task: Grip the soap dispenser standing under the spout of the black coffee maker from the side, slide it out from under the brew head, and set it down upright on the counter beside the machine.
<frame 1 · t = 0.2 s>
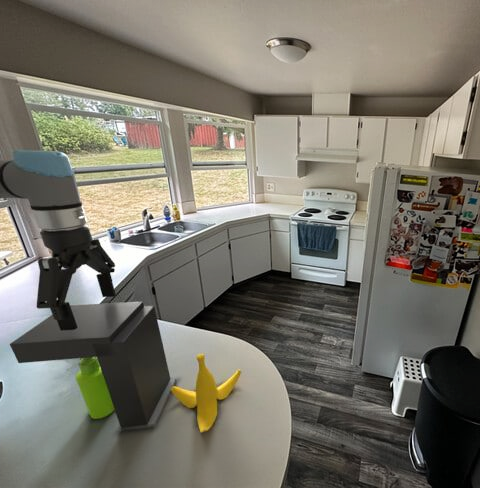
hand: (91, 311, 61), 29 cm above the table, tool pointing down, fingers open, 13 cm apart
coffee maker: (102, 408, 68), on the table
soap dispenser: (102, 409, 68), on the table
banana peel: (207, 410, 68), on the table
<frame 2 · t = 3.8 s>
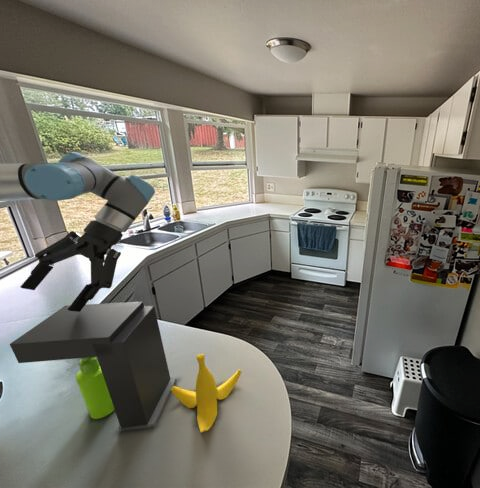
hand: (49, 299, 60), 32 cm above the table, tool tilted 45°, fingers open, 13 cm apart
nothing on the table moved.
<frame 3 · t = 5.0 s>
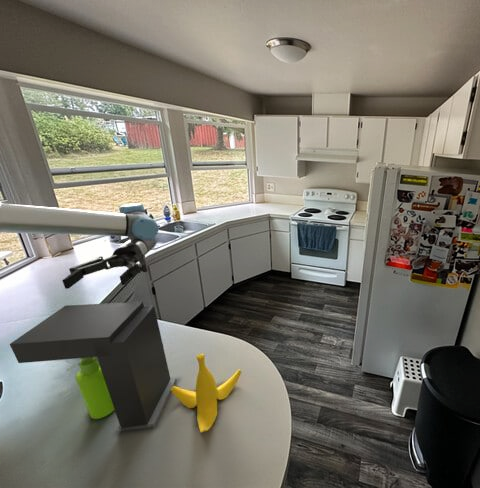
hand: (94, 282, 71), 31 cm above the table, tool horizontal, fingers open, 13 cm apart
nothing on the table moved.
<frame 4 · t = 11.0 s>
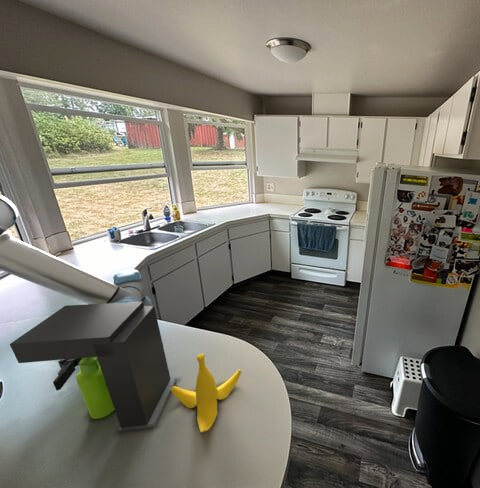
hand: (90, 379, 63), 11 cm above the table, tool horizontal, fingers open, 13 cm apart
nothing on the table moved.
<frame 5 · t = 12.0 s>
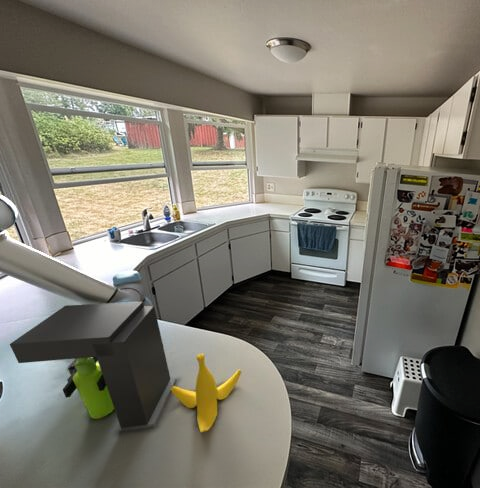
hand: (83, 389, 61), 11 cm above the table, tool horizontal, fingers closed on soap dispenser, 6 cm apart
soap dispenser: (102, 409, 68), on the table, touching gripper
everything else where it was.
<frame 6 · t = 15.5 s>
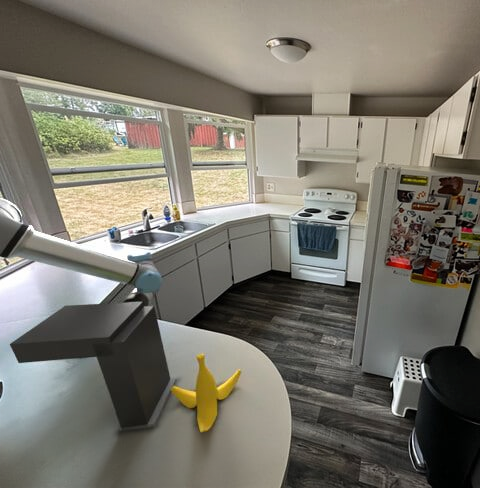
hand: (105, 345, 71), 14 cm above the table, tool horizontal, fingers closed on soap dispenser, 6 cm apart
soap dispenser: (120, 366, 78), point 3 cm above the table, touching gripper
everything else where it was.
when the fingers open (11 cm above the table, at t = 19.0 s): soap dispenser stays where it is, on the table.
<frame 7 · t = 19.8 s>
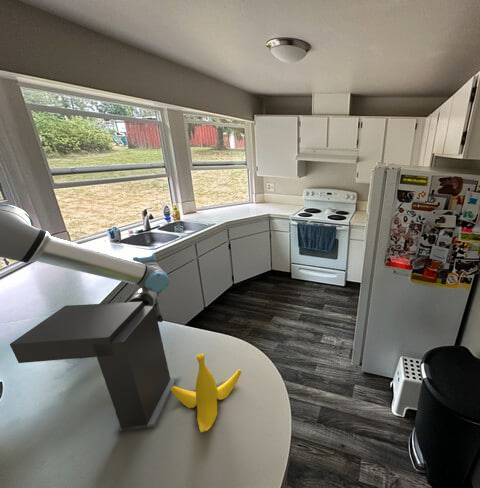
hand: (117, 337, 77), 11 cm above the table, tool horizontal, fingers open, 13 cm apart
soap dispenser: (128, 363, 83), on the table
everything else where it was.
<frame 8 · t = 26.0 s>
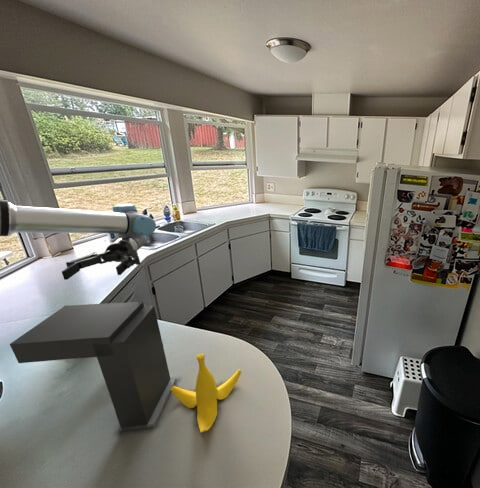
hand: (91, 273, 77), 30 cm above the table, tool horizontal, fingers open, 13 cm apart
nothing on the table moved.
at the end: soap dispenser inside the target area (1.5 cm from its centre), on the table; soap dispenser tilted 0°; the gripper is holding nothing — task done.
